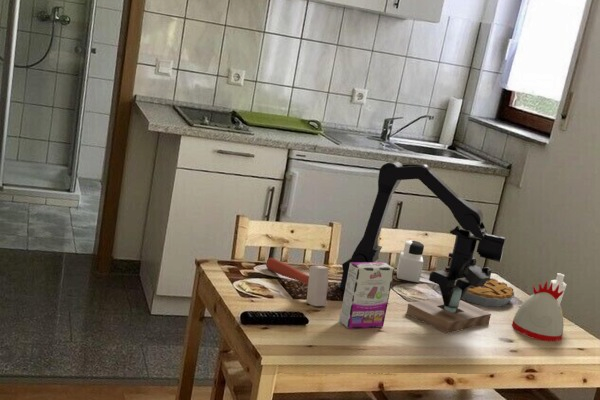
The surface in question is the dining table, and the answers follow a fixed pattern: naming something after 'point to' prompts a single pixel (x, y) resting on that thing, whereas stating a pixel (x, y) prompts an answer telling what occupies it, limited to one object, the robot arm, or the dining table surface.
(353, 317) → the candy bar box
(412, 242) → the medicine bottle
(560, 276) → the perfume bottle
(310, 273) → the mallet
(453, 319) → the socket board
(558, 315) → the kitchen timer
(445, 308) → the stepped peg
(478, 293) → the pie
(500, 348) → the dining table surface
